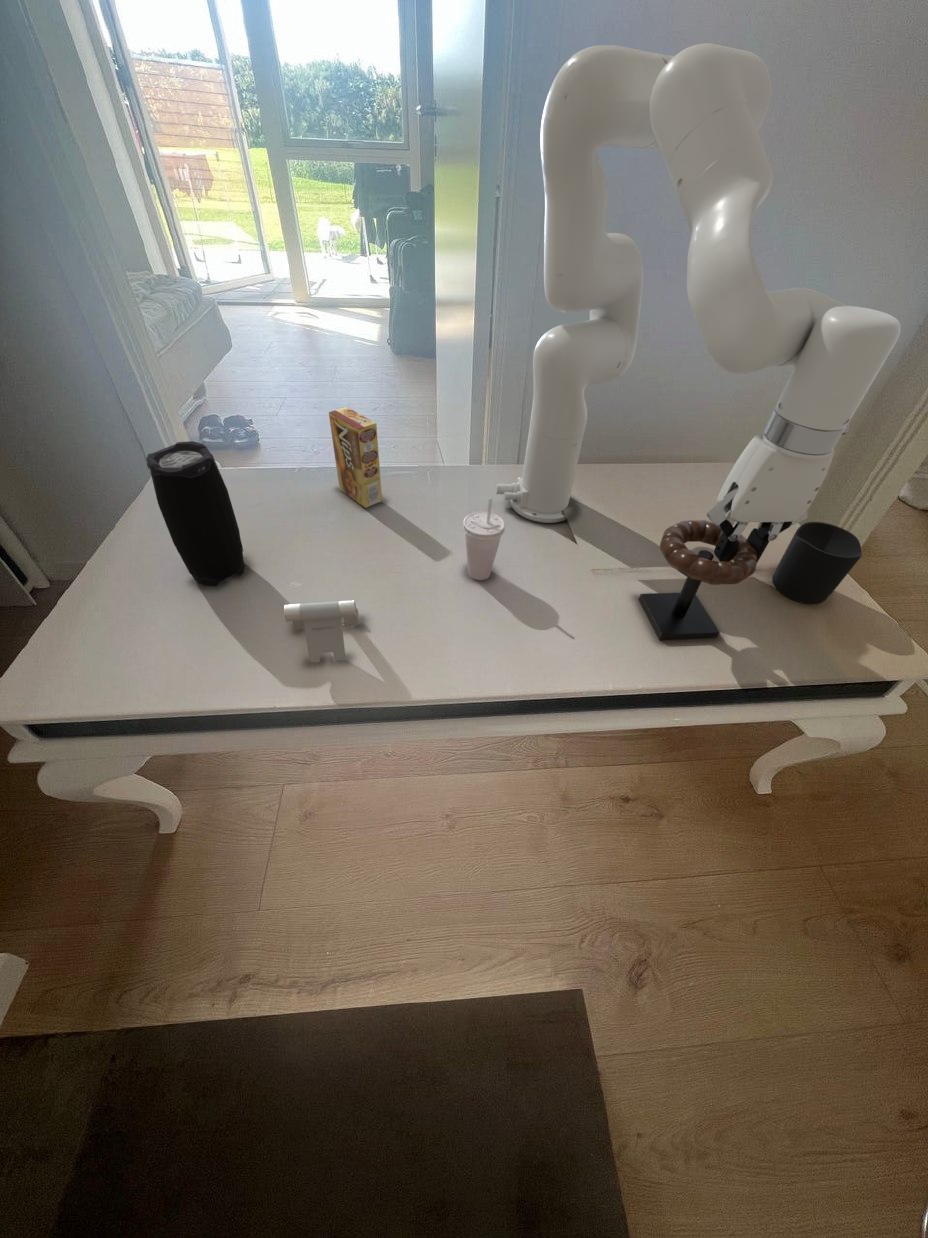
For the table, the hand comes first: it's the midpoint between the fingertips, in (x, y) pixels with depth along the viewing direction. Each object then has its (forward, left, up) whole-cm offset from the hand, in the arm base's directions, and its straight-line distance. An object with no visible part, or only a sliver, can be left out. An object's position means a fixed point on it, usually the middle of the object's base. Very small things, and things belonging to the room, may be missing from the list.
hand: (734, 557), depth 73 cm
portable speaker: (-75, +14, -12) cm, 77 cm away
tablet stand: (-57, -2, -12) cm, 58 cm away
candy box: (-54, +36, -12) cm, 66 cm away
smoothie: (-34, +12, -12) cm, 37 cm away
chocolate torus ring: (-4, 0, +1) cm, 5 cm away
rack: (-5, 0, -11) cm, 12 cm away
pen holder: (+19, +6, -12) cm, 23 cm away
